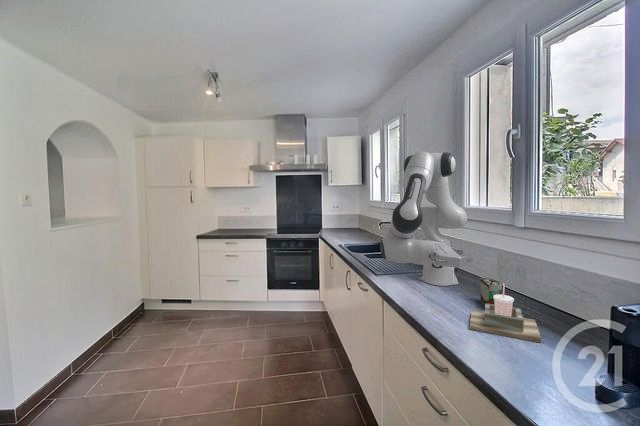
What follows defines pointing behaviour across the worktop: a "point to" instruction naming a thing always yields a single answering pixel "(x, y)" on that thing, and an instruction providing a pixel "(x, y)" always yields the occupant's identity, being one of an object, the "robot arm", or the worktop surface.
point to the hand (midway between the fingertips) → (466, 255)
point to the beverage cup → (503, 304)
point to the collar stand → (505, 324)
